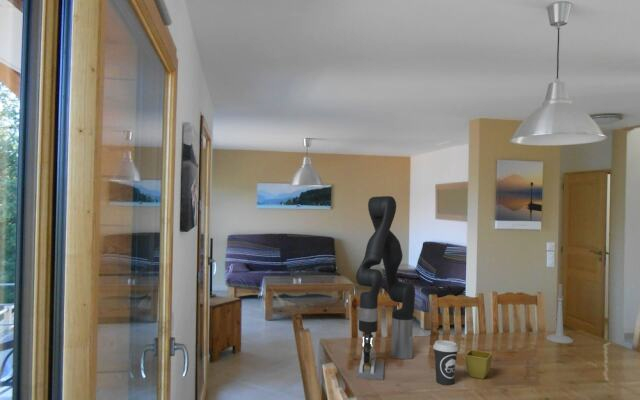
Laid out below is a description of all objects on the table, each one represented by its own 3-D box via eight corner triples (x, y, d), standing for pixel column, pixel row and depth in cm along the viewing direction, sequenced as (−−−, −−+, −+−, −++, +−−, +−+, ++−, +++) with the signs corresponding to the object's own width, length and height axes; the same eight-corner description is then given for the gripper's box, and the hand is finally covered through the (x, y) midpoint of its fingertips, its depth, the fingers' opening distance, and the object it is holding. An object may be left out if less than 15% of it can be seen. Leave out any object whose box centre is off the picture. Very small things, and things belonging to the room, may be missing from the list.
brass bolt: (371, 364, 198) (372, 345, 198) (370, 371, 190) (371, 350, 190) (364, 364, 198) (364, 344, 198) (363, 370, 190) (363, 350, 190)
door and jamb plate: (384, 363, 206) (384, 350, 206) (383, 379, 185) (383, 365, 185) (360, 361, 207) (361, 348, 207) (357, 377, 186) (357, 363, 187)
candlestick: (540, 337, 257) (541, 281, 258) (561, 336, 260) (561, 281, 261) (558, 343, 245) (558, 285, 246) (579, 342, 248) (579, 284, 249)
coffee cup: (458, 380, 187) (459, 341, 187) (457, 388, 178) (457, 347, 178) (433, 376, 190) (434, 338, 190) (430, 384, 181) (431, 344, 181)
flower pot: (487, 382, 185) (487, 358, 186) (464, 377, 190) (464, 354, 190) (492, 375, 193) (492, 353, 193) (470, 371, 197) (470, 349, 198)
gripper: (377, 323, 184) (376, 366, 184) (378, 315, 198) (377, 355, 198) (357, 322, 185) (356, 364, 185) (360, 314, 199) (359, 354, 199)
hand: (367, 359), depth 191 cm, fingers open, 7 cm apart
